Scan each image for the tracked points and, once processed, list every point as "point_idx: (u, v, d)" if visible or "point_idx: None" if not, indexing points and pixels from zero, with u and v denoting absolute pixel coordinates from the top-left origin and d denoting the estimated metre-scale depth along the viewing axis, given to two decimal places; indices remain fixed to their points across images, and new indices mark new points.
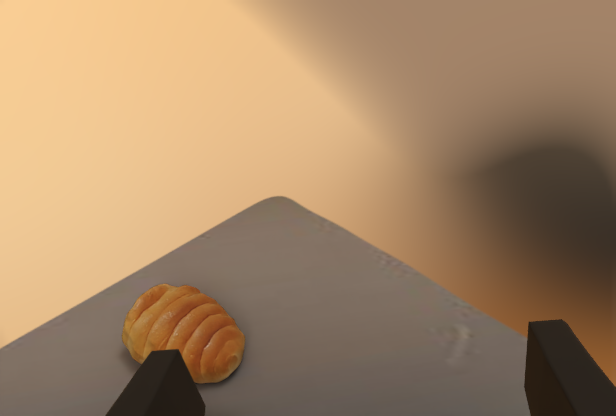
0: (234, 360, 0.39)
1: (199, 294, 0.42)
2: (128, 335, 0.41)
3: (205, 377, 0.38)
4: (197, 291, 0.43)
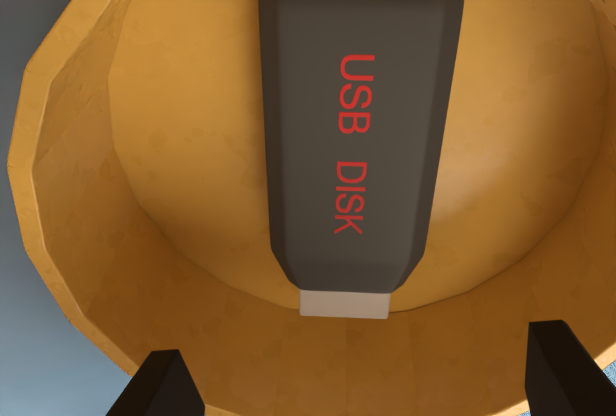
0: None
1: None
2: None
3: None
4: None
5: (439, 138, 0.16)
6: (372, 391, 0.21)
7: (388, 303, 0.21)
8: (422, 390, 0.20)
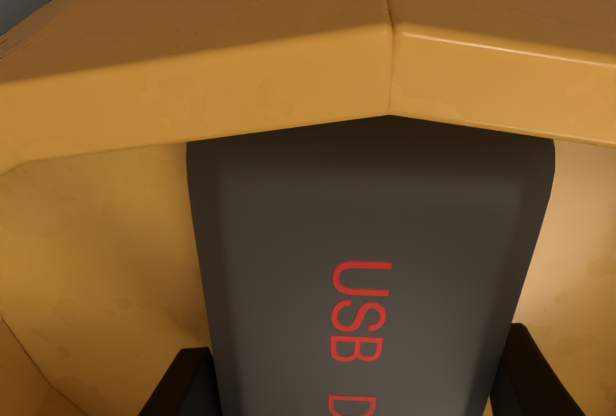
0: None
1: None
2: None
3: None
4: None
5: (495, 362, 0.10)
6: None
7: None
8: None
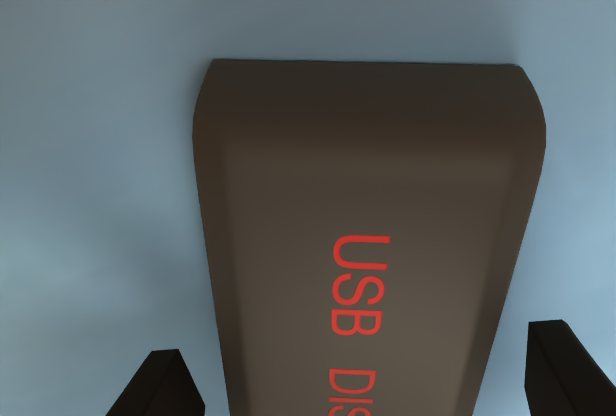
0: None
1: None
2: None
3: None
4: None
5: (490, 336, 0.10)
6: None
7: None
8: None
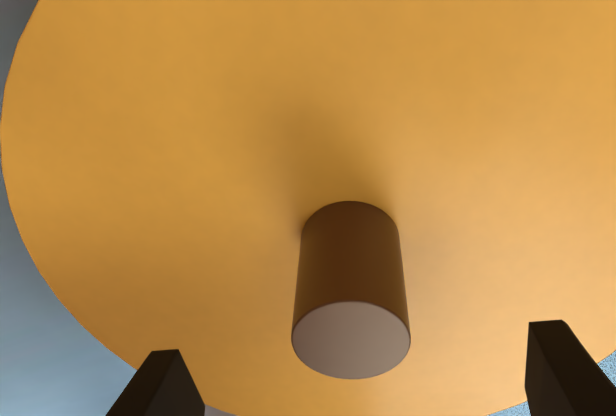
0: None
1: None
2: None
3: None
4: None
5: None
6: None
7: None
8: None
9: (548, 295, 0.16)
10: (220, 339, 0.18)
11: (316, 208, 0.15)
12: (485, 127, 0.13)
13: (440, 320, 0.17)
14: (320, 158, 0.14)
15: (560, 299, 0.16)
